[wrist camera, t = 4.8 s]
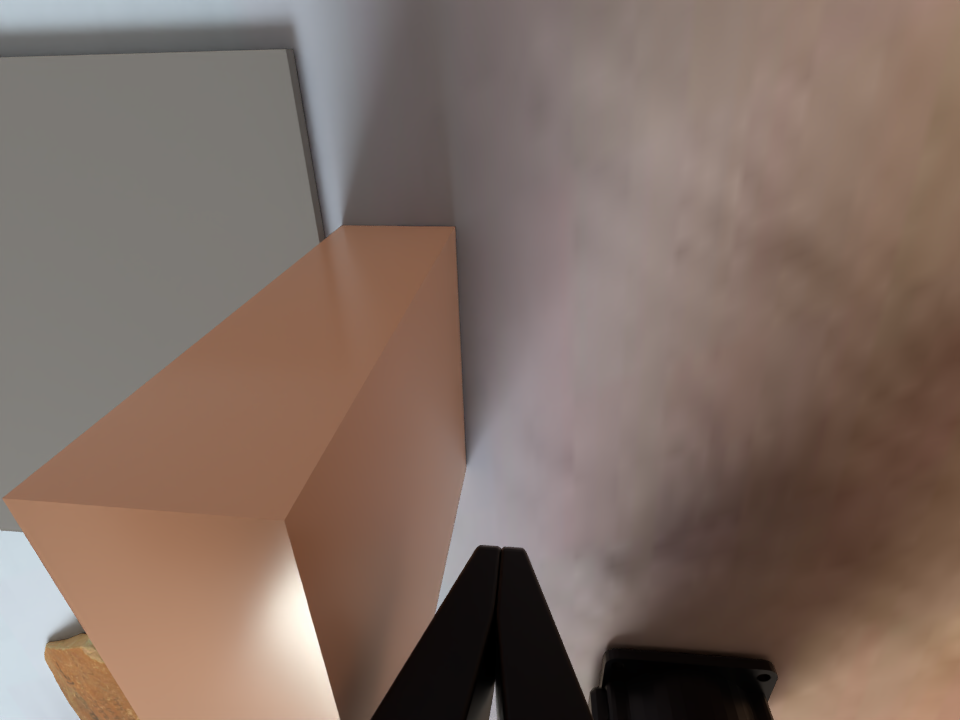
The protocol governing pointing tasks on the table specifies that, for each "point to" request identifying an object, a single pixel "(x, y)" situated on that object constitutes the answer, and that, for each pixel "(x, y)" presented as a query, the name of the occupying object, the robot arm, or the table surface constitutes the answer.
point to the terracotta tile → (273, 493)
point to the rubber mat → (135, 224)
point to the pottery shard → (87, 680)
